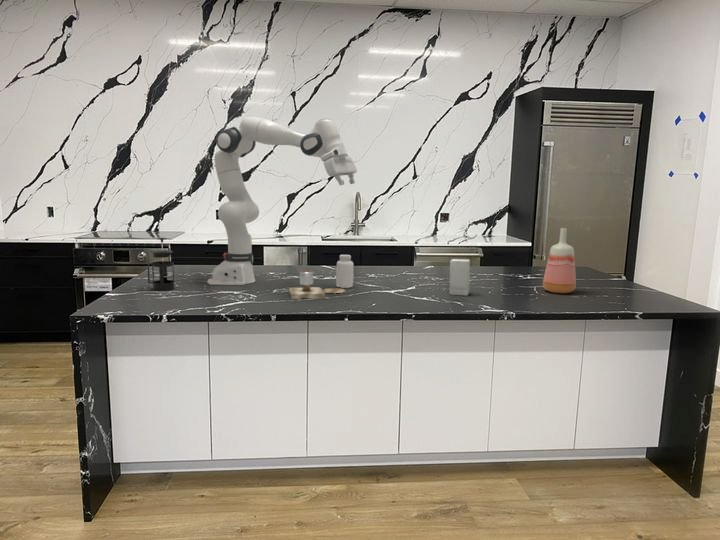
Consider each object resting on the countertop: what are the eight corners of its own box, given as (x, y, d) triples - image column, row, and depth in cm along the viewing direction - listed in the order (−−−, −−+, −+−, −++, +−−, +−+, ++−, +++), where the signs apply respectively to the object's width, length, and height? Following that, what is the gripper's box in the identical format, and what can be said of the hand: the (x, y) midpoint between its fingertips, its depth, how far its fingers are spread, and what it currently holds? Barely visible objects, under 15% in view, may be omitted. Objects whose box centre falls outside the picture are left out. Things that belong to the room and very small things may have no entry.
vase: (561, 288, 265) (566, 226, 260) (582, 294, 252) (587, 229, 247) (535, 289, 260) (540, 227, 256) (555, 295, 247) (560, 229, 242)
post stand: (291, 298, 230) (291, 277, 229) (288, 292, 244) (288, 272, 242) (324, 298, 233) (324, 277, 232) (320, 291, 246) (320, 271, 245)
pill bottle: (351, 288, 254) (351, 256, 252) (334, 287, 256) (334, 255, 253) (354, 285, 262) (355, 254, 260) (338, 284, 263) (338, 253, 261)
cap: (300, 285, 234) (300, 272, 233) (299, 282, 240) (299, 270, 239) (313, 284, 235) (313, 272, 234) (312, 282, 241) (312, 269, 240)
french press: (177, 286, 251) (176, 236, 248) (174, 290, 242) (173, 238, 238) (150, 287, 249) (148, 236, 245) (146, 291, 240) (144, 239, 236)
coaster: (324, 294, 241) (324, 292, 241) (321, 289, 251) (321, 288, 250) (346, 293, 243) (346, 292, 243) (342, 289, 253) (342, 287, 253)
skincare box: (469, 293, 248) (471, 259, 246) (467, 296, 242) (469, 261, 240) (450, 292, 251) (452, 258, 249) (448, 294, 245) (449, 260, 242)
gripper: (342, 157, 250) (353, 185, 250) (318, 157, 232) (329, 188, 232) (353, 151, 247) (364, 180, 247) (330, 151, 229) (341, 182, 229)
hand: (347, 184), depth 239 cm, fingers open, 8 cm apart
